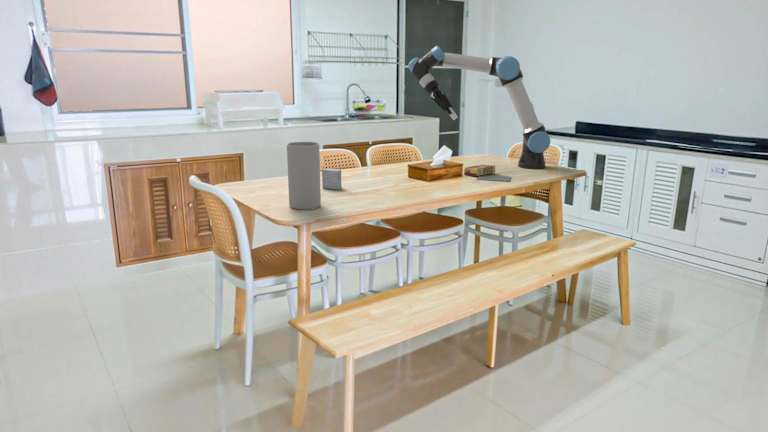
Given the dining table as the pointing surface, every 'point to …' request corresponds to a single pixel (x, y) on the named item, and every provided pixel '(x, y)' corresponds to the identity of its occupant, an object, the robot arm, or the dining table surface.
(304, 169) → the cylinder vase
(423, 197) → the dining table surface
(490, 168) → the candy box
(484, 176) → the slate mat
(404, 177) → the dining table surface
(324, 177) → the medicine box
